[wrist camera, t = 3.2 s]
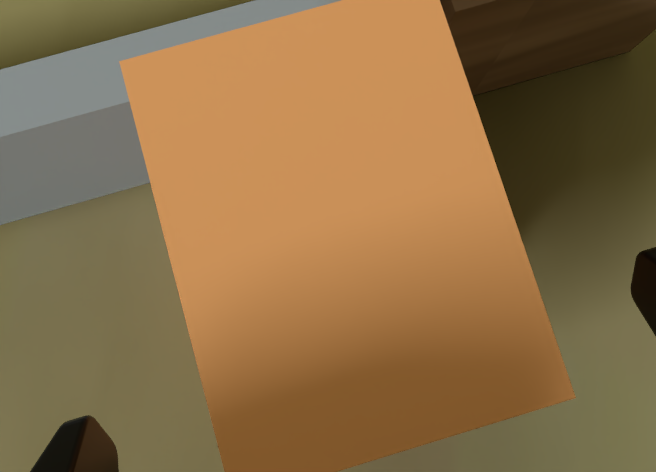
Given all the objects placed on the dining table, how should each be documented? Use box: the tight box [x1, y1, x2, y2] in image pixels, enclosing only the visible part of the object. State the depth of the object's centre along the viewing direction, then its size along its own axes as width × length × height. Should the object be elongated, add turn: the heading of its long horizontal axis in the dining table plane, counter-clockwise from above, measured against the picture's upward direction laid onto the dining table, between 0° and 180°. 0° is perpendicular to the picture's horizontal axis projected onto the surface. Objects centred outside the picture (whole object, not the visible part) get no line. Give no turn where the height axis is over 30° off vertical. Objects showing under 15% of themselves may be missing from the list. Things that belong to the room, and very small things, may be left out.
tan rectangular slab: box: [119, 0, 576, 472], centre depth 13 cm, size 6×4×11 cm
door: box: [0, 0, 341, 225], centre depth 15 cm, size 3×21×6 cm, turn 107°
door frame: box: [440, 0, 656, 96], centre depth 15 cm, size 2×38×7 cm, turn 107°
